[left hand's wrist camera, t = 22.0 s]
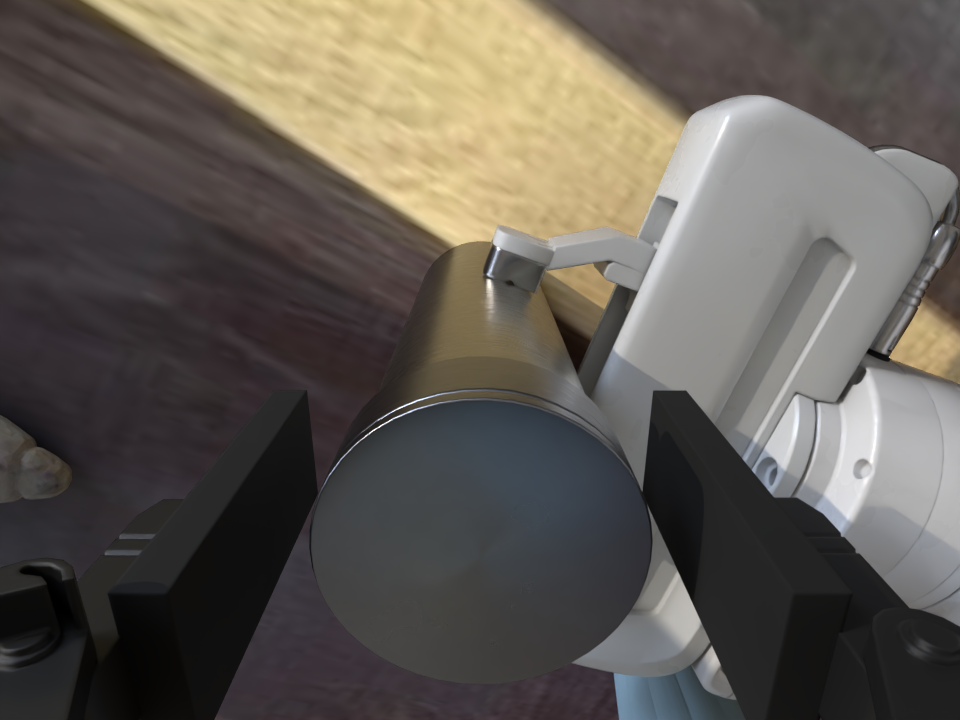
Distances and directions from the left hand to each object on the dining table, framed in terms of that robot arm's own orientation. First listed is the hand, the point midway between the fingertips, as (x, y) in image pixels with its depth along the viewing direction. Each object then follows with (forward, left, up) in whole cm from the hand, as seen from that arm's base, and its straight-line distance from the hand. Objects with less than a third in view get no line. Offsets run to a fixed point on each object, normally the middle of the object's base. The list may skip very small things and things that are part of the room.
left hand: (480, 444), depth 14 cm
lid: (0, 0, +4) cm, 4 cm away
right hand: (-1, 0, -7) cm, 7 cm away
